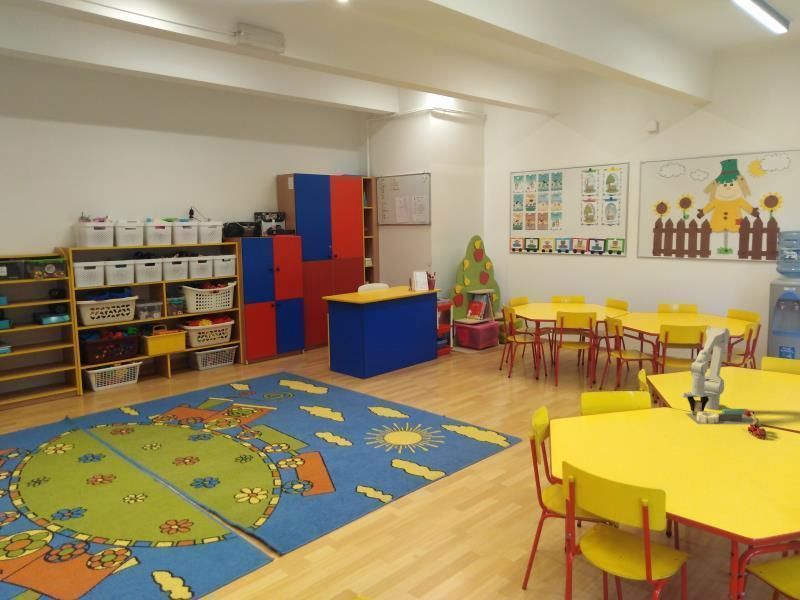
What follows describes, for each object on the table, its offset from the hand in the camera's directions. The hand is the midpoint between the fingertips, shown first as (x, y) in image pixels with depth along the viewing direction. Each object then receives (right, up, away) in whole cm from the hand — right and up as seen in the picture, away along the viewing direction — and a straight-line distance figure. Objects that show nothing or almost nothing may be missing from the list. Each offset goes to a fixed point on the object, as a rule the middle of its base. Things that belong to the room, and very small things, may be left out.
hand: (697, 410), depth 309 cm
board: (+9, -4, -6) cm, 12 cm away
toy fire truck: (+15, -7, -25) cm, 30 cm away
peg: (0, -2, 0) cm, 2 cm away
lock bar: (+14, 0, -9) cm, 17 cm away
